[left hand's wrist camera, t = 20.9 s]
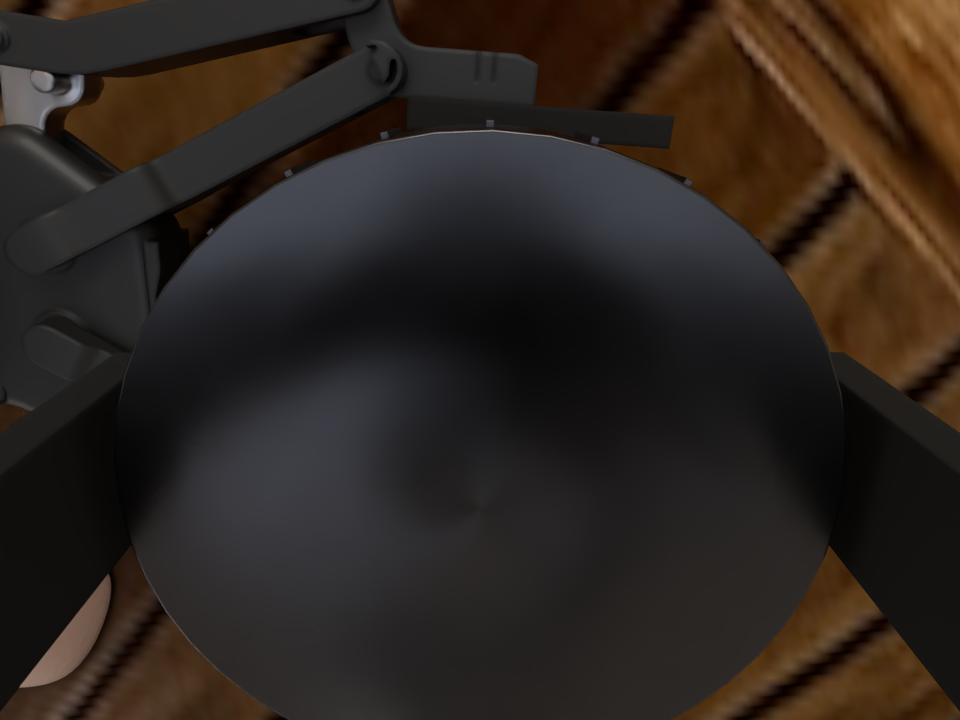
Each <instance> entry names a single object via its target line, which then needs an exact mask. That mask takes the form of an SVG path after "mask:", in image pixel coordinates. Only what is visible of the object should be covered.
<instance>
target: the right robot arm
mask: <svg viewBox="0 0 960 720" xmlns="http://www.w3.org/2000/svg"><path fill="white" fill-rule="evenodd" d="M341 30H346V33H347V36H348V39H349V42H350V45H351V48H352V52H353V53H352V54H350V55H348V56H346V57H345V58H343V59H341V60H339V61H337V62H335V63H333V64H331V65H330V66H328V67H326V68H324V69H322V70H320V71H318V72H316V73H315V74H313V75H311V76H309V77H307V78H305V79H303V80H302V81H300V82H298V83H296V84H294V85H292V86H290V87H288V88H287V89H285V90H283V91H281V92H279V93H277V94H275V95H274V96H272V97H270V98H268V99H266V100H264V101H262V102H260V103H259V104H257V105H255V106H253V107H251V108H249V109H247V110H246V111H244V112H242V113H240V114H238V115H236V116H234V117H232V118H231V119H229V120H227V121H225V122H223V123H221V124H219V125H218V126H216V127H214V128H212V129H210V130H208V131H206V132H204V133H203V134H201V135H199V136H197V137H195V138H193V139H191V140H190V141H188V142H186V143H184V144H182V145H180V146H178V147H176V148H175V149H173V150H171V151H169V152H167V153H165V154H163V155H162V156H160V157H158V158H156V159H154V160H151V161H149V162H146V163H143V164H141V165H138V166H136V167H134V168H132V169H130V170H128V171H126V172H122V171H121V170H120V169H118V168H117V167H116V166H114V165H113V164H112V163H110V162H109V161H108V160H106V159H105V158H104V157H102V156H101V155H100V154H98V153H97V152H96V151H94V150H93V149H92V148H90V147H89V146H88V145H86V144H85V143H84V142H82V141H81V140H80V139H78V138H77V137H76V136H74V135H73V134H71V133H70V132H68V131H67V130H65V129H64V121H65V118H66V116H67V114H68V113H69V112H70V111H71V110H72V109H74V108H76V107H81V106H88V105H91V104H93V103H95V102H96V101H97V100H98V99H99V97H100V95H101V92H102V90H103V89H104V81H103V78H102V77H137V76H143V75H150V74H154V73H159V72H163V71H167V70H172V69H176V68H180V67H185V66H189V65H193V64H198V63H202V62H206V61H211V60H215V59H220V58H224V57H228V56H233V55H237V54H241V53H246V52H250V51H254V50H259V49H263V48H267V47H272V46H276V45H280V44H285V43H289V42H293V41H298V40H302V39H306V38H311V37H315V36H320V35H324V34H328V33H333V32H337V31H341ZM537 74H538V64H536V63H535V62H533V61H531V60H529V59H527V58H525V57H523V56H522V55H520V54H511V53H499V52H486V51H473V50H460V49H447V48H435V47H423V46H419V45H415V44H413V43H412V42H410V41H408V39H407V38H406V36H405V35H404V33H403V31H402V29H401V26H400V23H399V19H398V16H397V13H396V9H395V6H394V3H393V0H150V1H146V2H142V3H138V4H134V5H129V6H125V7H121V8H117V9H113V10H108V11H104V12H100V13H96V14H92V15H87V16H83V17H79V18H75V19H71V20H66V21H63V20H57V19H51V18H45V17H38V16H32V15H26V14H20V13H13V12H7V11H1V10H0V76H1V86H2V97H3V107H4V117H5V125H4V126H0V404H9V405H14V406H17V407H20V408H23V409H26V410H28V411H30V412H31V411H32V410H34V409H35V408H37V407H38V406H40V405H41V404H43V403H44V402H45V401H47V400H48V399H50V398H51V397H53V396H54V395H56V394H57V393H58V392H60V391H61V390H63V389H64V388H66V387H67V386H69V385H70V384H71V383H73V382H74V381H76V380H77V379H79V378H80V377H82V376H83V375H84V374H86V373H87V372H89V371H90V370H92V369H93V368H95V367H96V366H97V365H99V364H100V363H102V362H103V361H105V360H106V359H108V358H109V357H110V356H112V355H113V354H115V353H132V350H133V347H134V345H135V342H136V339H137V337H138V334H139V331H140V329H141V327H142V325H143V323H144V321H145V320H146V318H147V316H148V314H149V312H150V311H151V309H152V307H153V305H154V303H155V302H156V300H157V298H158V296H159V294H160V293H161V291H162V289H163V287H164V286H165V285H166V284H167V282H168V281H169V280H170V278H171V277H172V276H173V275H174V273H175V272H176V271H177V270H178V268H179V267H180V266H181V264H182V263H183V262H184V261H185V259H186V258H187V257H188V255H189V254H190V246H189V234H188V229H185V228H180V226H179V223H178V221H177V219H176V217H175V216H174V214H175V213H177V212H179V211H181V210H183V209H185V208H187V207H189V206H191V205H193V204H195V203H197V202H199V201H201V200H202V199H204V198H206V197H208V196H210V195H212V194H213V193H214V192H216V191H218V190H220V189H222V188H224V187H225V186H227V185H229V184H231V183H233V182H235V181H237V180H239V179H241V178H243V177H245V176H247V175H249V174H251V173H253V172H254V171H256V170H258V169H260V168H262V167H264V166H266V165H268V164H270V163H272V162H274V161H276V160H278V159H280V158H281V157H283V156H285V155H287V154H289V153H291V152H293V151H295V150H297V149H299V148H301V147H303V146H305V145H307V144H309V143H310V142H312V141H314V140H316V139H318V138H320V137H322V136H324V135H326V134H328V133H330V132H332V131H334V130H336V129H337V128H339V127H341V126H343V125H345V124H347V123H349V122H351V121H353V120H355V119H357V118H359V117H361V116H363V115H364V114H366V113H368V112H370V111H372V110H374V109H376V108H378V107H380V106H382V105H384V104H386V103H388V102H390V101H392V100H393V99H395V98H397V97H400V98H407V129H413V130H419V129H425V128H430V127H436V126H441V125H459V124H484V123H485V118H493V120H494V121H495V122H494V124H503V125H513V126H523V127H533V128H540V129H544V130H548V131H552V132H556V133H560V134H564V135H569V136H573V137H575V133H576V131H578V132H581V133H584V134H588V135H591V136H594V137H597V138H600V140H599V143H600V144H613V145H626V146H640V147H653V148H667V149H669V146H670V140H671V134H672V128H673V122H674V117H673V116H661V115H649V114H636V113H623V112H609V111H596V110H583V109H570V108H557V107H544V106H535V95H536V84H537Z"/></svg>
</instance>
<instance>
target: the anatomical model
mask: <svg viewBox="0 0 960 720" xmlns="http://www.w3.org/2000/svg"><path fill="white" fill-rule="evenodd" d="M110 598H111V578H110V576H109V574H108V575H107V576H106V577H105V579H104V580H103V581H102V583H101V584H100V585H99V586H98V588H97V589H96V590H95V591H94V593H93V594H92V595H91V597H90V598H89V599H88V600H87V602H86V603H85V604H84V605H83V607H82V608H81V609H80V611H79V612H78V613H77V614H76V616H75V617H74V618H73V619H72V621H71V622H70V623H69V625H68V626H67V627H66V628H65V630H64V631H63V632H62V633H61V635H60V636H59V637H58V639H57V640H56V641H55V642H54V644H53V645H52V646H51V647H50V649H49V650H48V651H47V653H46V654H45V655H44V656H43V658H42V659H41V660H40V661H39V663H38V664H37V665H36V667H35V668H34V669H33V670H32V672H31V673H30V674H29V675H28V677H27V678H26V679H25V681H24V682H23V683H22V684H21V686H20V687H32V686H39V685H44V684H48V683H51V682H54V681H57V680H59V679H61V678H63V677H65V676H66V675H68V674H69V673H71V672H72V671H73V670H74V669H75V668H76V667H78V666H79V665H80V663H81V662H82V661H83V660H84V658H85V657H86V656H87V655H88V653H89V652H90V650H91V648H92V647H93V645H94V643H95V642H96V640H97V637H98V635H99V633H100V631H101V628H102V626H103V623H104V620H105V617H106V614H107V611H108V607H109V602H110ZM20 687H19V688H20Z"/></svg>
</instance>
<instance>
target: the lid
mask: <svg viewBox="0 0 960 720" xmlns="http://www.w3.org/2000/svg"><path fill="white" fill-rule="evenodd" d="M494 122H495V121H494V120H493V118H485V123H484V124H459V125H441V126H436V127H430V128H425V129H419V130H414V131H408V132H402V130H401V127H398V128H394V129H391V130H387V131H384V132H381V133H380V137H381V139H379V140H376V141H373V142H370V143H367V144H364V145H361V146H358V147H355V148H352V149H349V150H346V151H344V152H341V153H338V154H336V155H333V156H330V157H328V158H325V159H323V160H321V161H319V162H318V161H317V159H316V160H313V161H310V162H307V163H305V164H302V165H299V166H296V167H293V168H291V169H288V170H287V171H285V172H284V174H285V176H286V178H284V179H282V180H280V181H278V182H276V183H275V184H273V185H272V186H270V187H269V188H267V189H266V190H264V191H263V192H262V193H260V194H259V195H257V196H256V197H254V198H253V199H251V200H250V201H249V202H247V203H246V204H244V205H243V206H241V207H240V208H238V209H237V210H236V211H234V212H233V213H231V214H230V215H229V216H228V217H227V218H226V219H225V220H224V221H223V222H222V223H221V224H219V225H217V226H215V227H213V228H211V229H210V230H209V231H208V232H207V234H208V236H207V237H206V238H205V239H204V240H203V241H201V242H200V243H199V244H198V245H197V246H196V247H195V248H194V249H193V250H192V252H191V253H190V254H189V255H188V257H187V258H186V259H185V261H184V262H183V263H182V264H181V266H180V267H179V268H178V270H177V271H176V272H175V273H174V275H173V276H172V277H171V278H170V280H169V281H168V282H167V284H166V285H165V286H164V287H163V289H162V291H161V293H160V294H159V296H158V298H157V300H156V302H155V303H154V305H153V307H152V309H151V311H150V312H149V314H148V316H147V318H146V320H145V321H144V323H143V325H142V327H141V329H140V331H139V334H138V337H137V339H136V342H135V345H134V347H133V350H132V353H131V356H130V358H129V361H128V364H127V367H126V369H125V372H124V377H123V382H122V387H121V393H120V398H119V403H118V408H117V413H116V426H115V453H114V461H115V470H116V479H117V487H118V496H119V502H120V506H121V510H122V514H123V517H124V521H125V525H126V529H127V532H128V536H129V540H130V542H131V545H132V547H133V549H134V552H135V554H136V556H137V559H138V561H139V563H140V566H141V568H142V570H143V573H144V575H145V577H146V579H147V581H148V582H149V584H150V586H151V588H152V589H153V591H154V593H155V594H156V596H157V598H158V599H159V601H160V603H161V604H162V606H163V608H164V609H165V611H166V612H167V614H168V615H169V616H170V618H171V619H172V620H173V621H174V623H175V624H176V625H177V626H178V628H179V629H180V630H181V632H182V633H183V634H184V635H185V637H186V638H187V639H188V641H189V642H190V643H191V644H192V645H193V646H194V647H195V648H196V649H197V650H198V651H199V652H200V653H201V654H202V655H203V656H204V657H205V658H206V659H207V660H208V661H209V662H210V663H211V664H212V665H213V666H214V667H215V668H216V669H217V670H218V671H219V672H220V673H222V674H223V675H224V676H225V677H227V678H228V679H229V680H230V681H232V682H233V683H234V684H235V685H237V686H238V687H239V688H240V689H242V690H243V691H244V692H246V693H247V694H248V695H249V696H251V697H252V698H254V699H256V700H257V701H259V702H260V703H262V704H264V705H265V706H267V707H268V708H270V709H272V710H273V711H275V712H276V713H278V714H280V715H281V716H283V717H285V718H287V719H289V720H672V719H673V718H675V717H677V716H679V715H680V714H682V713H684V712H686V711H688V710H689V709H691V708H693V707H695V706H696V705H698V704H699V703H701V702H702V701H703V700H705V699H706V698H708V697H709V696H710V695H712V694H713V693H715V692H716V691H717V690H719V689H720V688H722V687H723V686H724V685H726V684H727V683H729V682H730V681H731V680H732V679H733V678H734V677H735V676H736V675H738V674H739V673H740V672H741V671H742V670H743V669H744V668H745V667H746V666H747V665H749V664H750V663H751V662H752V661H753V660H754V659H755V658H756V657H757V656H759V654H760V653H761V652H762V651H763V650H764V649H765V648H766V646H767V645H768V644H769V643H770V642H771V641H772V640H773V638H774V637H775V636H776V635H777V634H778V633H779V632H780V630H781V629H782V628H783V627H784V626H785V624H786V623H787V621H788V620H789V618H790V617H791V615H792V614H793V612H794V611H795V610H796V608H797V607H798V605H799V604H800V602H801V601H802V599H803V598H804V596H805V595H806V593H807V591H808V589H809V587H810V585H811V583H812V581H813V579H814V577H815V575H816V573H817V571H818V569H819V567H820V565H821V563H822V561H823V559H824V557H825V555H826V552H827V549H828V546H829V543H830V540H831V537H832V534H833V531H834V528H835V525H836V522H837V519H838V514H839V509H840V503H841V498H842V492H843V487H844V481H845V466H846V428H845V420H844V412H843V404H842V396H841V390H840V386H839V383H838V379H837V376H836V373H835V369H834V366H833V362H832V359H831V355H830V352H829V348H828V346H827V344H826V342H825V340H824V337H823V335H822V333H821V331H820V329H819V327H818V325H817V323H816V320H815V318H814V316H813V314H812V312H811V310H810V308H809V306H808V304H807V303H806V301H805V300H804V298H803V297H802V295H801V294H800V292H799V291H798V289H797V288H796V286H795V285H794V283H793V282H792V280H791V279H790V278H789V276H788V275H787V273H786V272H785V270H784V269H783V267H782V266H781V265H780V263H779V262H778V261H777V260H776V259H775V258H774V257H773V256H772V255H771V254H770V253H769V252H768V251H767V250H766V248H765V244H764V243H763V242H762V241H761V240H759V239H757V238H755V237H754V236H753V234H752V233H751V232H750V231H749V230H748V229H747V228H746V227H744V226H743V225H742V224H741V223H739V222H738V221H737V220H736V219H734V218H733V217H732V216H731V215H729V214H728V213H727V212H726V211H724V210H723V209H722V208H720V207H719V206H718V205H717V204H715V203H714V202H713V201H712V200H710V199H709V198H708V197H707V196H705V195H704V194H702V193H700V192H698V191H697V190H695V189H693V188H691V187H690V186H691V185H692V183H693V182H692V181H691V180H689V179H688V178H685V177H682V176H680V175H677V174H674V173H672V172H669V171H666V170H664V169H661V168H656V167H653V166H651V165H648V164H646V163H643V162H641V161H638V160H636V159H633V158H631V157H628V156H626V155H623V154H621V153H618V152H616V151H613V150H611V149H608V148H606V147H603V146H600V145H598V143H599V140H600V138H597V137H594V136H591V135H588V134H584V133H581V132H578V131H576V133H575V137H573V136H569V135H564V134H560V133H556V132H552V131H548V130H544V129H540V128H533V127H523V126H513V125H503V124H494Z"/></svg>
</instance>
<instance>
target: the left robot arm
mask: <svg viewBox="0 0 960 720" xmlns="http://www.w3.org/2000/svg"><path fill="white" fill-rule="evenodd" d="M830 355H831V359H832V362H833V366H834V369H835V373H836V376H837V379H838V383H839V386H840V390H841V396H842V404H843V412H844V420H845V428H846V466H845V481H844V487H843V492H842V498H841V503H840V509H839V514H838V519H837V522H836V525H835V528H834V531H833V534H832V537H831V540H830V543H829V546H830V547H831V548H832V549H833V551H834V552H835V553H836V555H837V556H838V557H839V558H840V560H841V561H842V562H843V563H844V565H845V566H846V567H847V569H848V570H849V571H850V572H851V574H852V575H853V576H854V577H855V579H856V580H857V581H858V583H859V584H860V585H861V586H862V588H863V589H864V590H865V591H866V593H867V594H868V595H869V597H870V598H871V599H872V600H873V602H874V603H875V604H876V605H877V607H878V608H879V609H880V611H881V612H882V613H883V614H884V616H885V617H886V618H887V619H888V621H889V622H890V623H891V625H892V626H893V627H894V628H895V630H896V631H897V632H898V633H899V635H900V636H901V637H902V639H903V640H904V641H905V642H906V644H907V645H908V646H909V647H910V649H911V650H912V651H913V653H914V654H915V655H916V656H917V658H918V659H919V660H920V661H921V663H922V664H923V665H924V667H925V668H926V669H927V670H928V672H929V673H930V674H931V675H932V677H933V678H934V679H935V681H936V682H937V683H938V684H939V686H940V687H941V688H942V689H943V691H944V692H945V693H946V695H947V696H948V697H949V698H950V700H951V701H952V702H953V703H954V705H955V706H956V707H957V709H958V710H959V711H960V433H959V432H958V431H956V430H955V429H954V428H952V427H951V426H949V425H948V424H946V423H945V422H943V421H942V420H941V419H939V418H938V417H936V416H935V415H933V414H932V413H930V412H929V411H928V410H926V409H925V408H923V407H922V406H920V405H919V404H917V403H916V402H915V401H913V400H912V399H910V398H909V397H907V396H906V395H904V394H903V393H902V392H900V391H899V390H897V389H896V388H894V387H893V386H891V385H890V384H889V383H887V382H886V381H884V380H883V379H881V378H880V377H878V376H877V375H876V374H874V373H873V372H871V371H870V370H868V369H867V368H865V367H864V366H862V365H861V364H860V363H858V362H857V361H855V360H854V359H852V358H851V357H849V356H848V355H847V354H845V353H830ZM130 356H131V353H115V354H113V355H112V356H110V357H109V358H108V359H106V360H105V361H103V362H102V363H100V364H99V365H97V366H96V367H95V368H93V369H92V370H90V371H89V372H87V373H86V374H84V375H83V376H82V377H80V378H79V379H77V380H76V381H74V382H73V383H71V384H70V385H69V386H67V387H66V388H64V389H63V390H61V391H60V392H58V393H57V394H56V395H54V396H53V397H51V398H50V399H48V400H47V401H45V402H44V403H43V404H41V405H40V406H38V407H37V408H35V409H34V410H32V411H31V412H30V413H28V414H27V415H25V416H24V417H22V418H21V419H19V420H18V421H17V422H15V423H14V424H12V425H11V426H9V427H8V428H6V429H5V430H4V431H2V432H1V433H0V711H1V710H2V709H3V707H4V706H5V705H6V703H7V702H8V701H9V700H10V698H11V697H12V696H13V695H14V693H15V692H16V691H17V689H18V688H19V687H20V686H21V684H22V683H23V682H24V681H25V679H26V678H27V677H28V675H29V674H30V673H31V672H32V670H33V669H34V668H35V667H36V665H37V664H38V663H39V661H40V660H41V659H42V658H43V656H44V655H45V654H46V653H47V651H48V650H49V649H50V647H51V646H52V645H53V644H54V642H55V641H56V640H57V639H58V637H59V636H60V635H61V633H62V632H63V631H64V630H65V628H66V627H67V626H68V625H69V623H70V622H71V621H72V619H73V618H74V617H75V616H76V614H77V613H78V612H79V611H80V609H81V608H82V607H83V605H84V604H85V603H86V602H87V600H88V599H89V598H90V597H91V595H92V594H93V593H94V591H95V590H96V589H97V588H98V586H99V585H100V584H101V583H102V581H103V580H104V579H105V577H106V576H107V575H108V574H109V572H110V571H111V570H112V569H113V567H114V566H115V565H116V563H117V562H118V561H119V560H120V558H121V557H122V556H123V555H124V553H125V552H126V551H127V549H128V548H129V547H130V546H131V542H130V540H129V536H128V532H127V529H126V525H125V521H124V517H123V514H122V510H121V506H120V502H119V496H118V487H117V479H116V470H115V461H114V453H115V426H116V413H117V408H118V403H119V398H120V393H121V387H122V382H123V377H124V372H125V369H126V367H127V364H128V361H129V358H130Z"/></svg>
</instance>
